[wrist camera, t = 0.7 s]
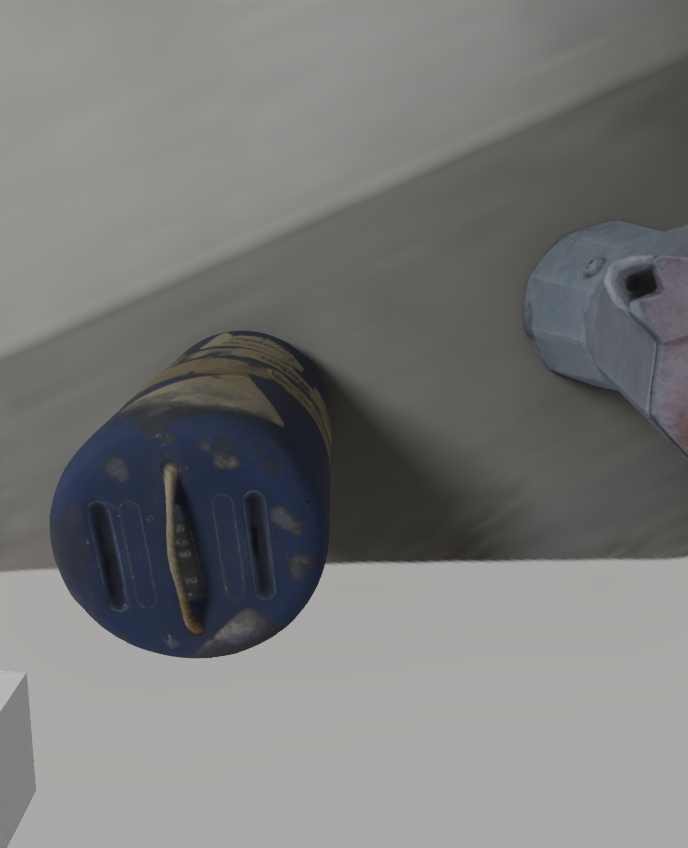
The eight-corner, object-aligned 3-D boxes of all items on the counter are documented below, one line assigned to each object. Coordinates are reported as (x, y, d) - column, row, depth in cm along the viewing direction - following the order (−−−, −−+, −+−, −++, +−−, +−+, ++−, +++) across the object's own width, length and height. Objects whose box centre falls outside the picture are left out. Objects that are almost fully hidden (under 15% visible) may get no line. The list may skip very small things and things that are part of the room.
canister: (344, 342, 36) (359, 450, 19) (316, 495, 39) (307, 712, 21) (173, 312, 35) (25, 396, 18) (157, 470, 38) (16, 674, 21)
